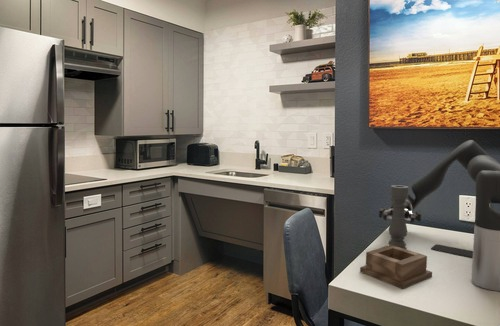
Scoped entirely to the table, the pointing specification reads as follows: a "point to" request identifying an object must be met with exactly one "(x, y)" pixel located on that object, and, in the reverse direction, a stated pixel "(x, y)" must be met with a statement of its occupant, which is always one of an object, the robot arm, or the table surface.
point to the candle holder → (398, 216)
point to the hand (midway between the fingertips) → (398, 218)
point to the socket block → (396, 266)
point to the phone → (453, 250)
